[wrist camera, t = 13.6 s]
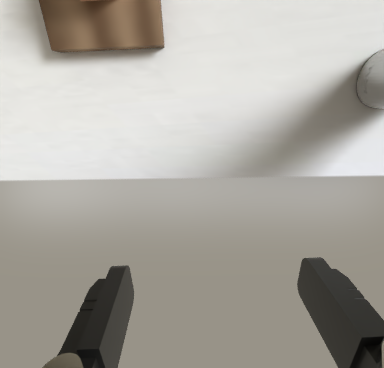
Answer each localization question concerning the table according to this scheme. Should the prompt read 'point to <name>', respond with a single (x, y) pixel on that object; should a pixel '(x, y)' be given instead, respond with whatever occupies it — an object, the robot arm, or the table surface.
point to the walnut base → (103, 24)
